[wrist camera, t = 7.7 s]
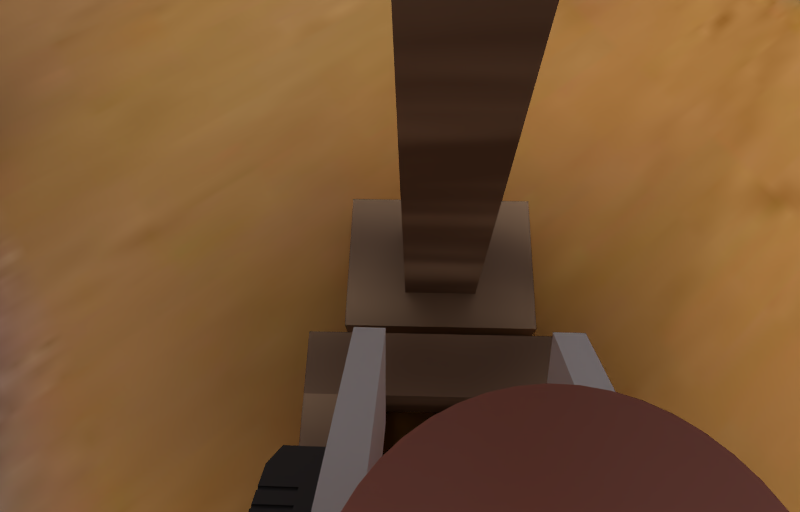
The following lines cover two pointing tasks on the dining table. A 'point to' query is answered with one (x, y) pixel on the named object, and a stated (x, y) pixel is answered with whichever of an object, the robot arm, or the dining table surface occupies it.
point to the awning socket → (446, 219)
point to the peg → (559, 459)
